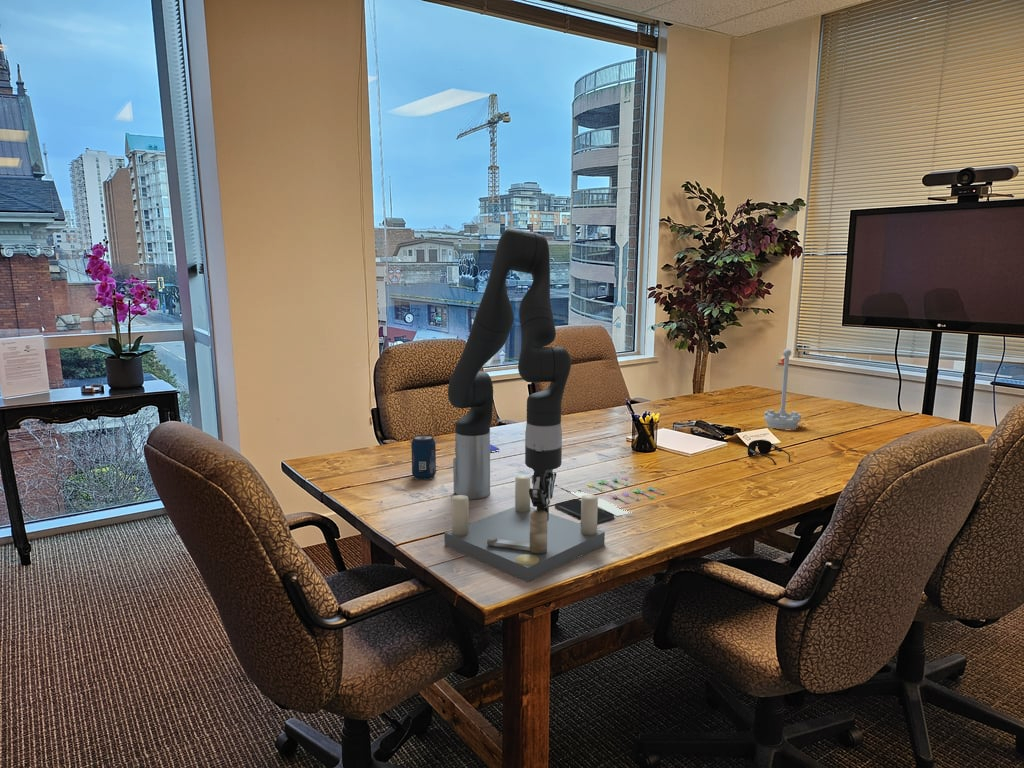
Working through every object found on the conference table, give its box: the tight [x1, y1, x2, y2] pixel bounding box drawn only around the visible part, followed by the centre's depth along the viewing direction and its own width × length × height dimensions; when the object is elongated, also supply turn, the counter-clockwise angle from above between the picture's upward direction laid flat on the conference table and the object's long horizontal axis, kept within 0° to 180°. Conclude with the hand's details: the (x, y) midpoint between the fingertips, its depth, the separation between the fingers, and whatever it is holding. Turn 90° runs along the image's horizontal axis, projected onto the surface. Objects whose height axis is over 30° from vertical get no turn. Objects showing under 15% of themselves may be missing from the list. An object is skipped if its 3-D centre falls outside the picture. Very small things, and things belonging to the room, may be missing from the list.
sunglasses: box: [747, 439, 791, 465], centre depth 216 cm, size 10×12×5 cm
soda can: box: [410, 434, 437, 481], centre depth 196 cm, size 7×7×12 cm
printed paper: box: [570, 477, 665, 517], centre depth 187 cm, size 30×30×2 cm
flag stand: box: [763, 348, 802, 430], centre depth 256 cm, size 13×13×30 cm
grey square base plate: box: [443, 474, 606, 583], centre depth 148 cm, size 25×25×11 cm
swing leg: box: [487, 510, 548, 553], centre depth 139 cm, size 13×4×8 cm, turn 73°
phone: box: [554, 498, 615, 525], centre depth 169 cm, size 8×1×15 cm
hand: (542, 522), depth 142 cm, fingers closed
